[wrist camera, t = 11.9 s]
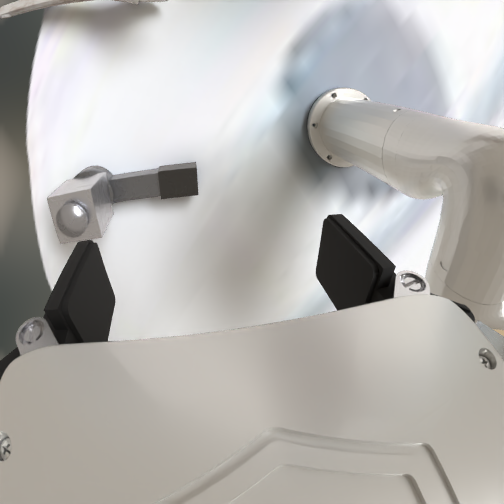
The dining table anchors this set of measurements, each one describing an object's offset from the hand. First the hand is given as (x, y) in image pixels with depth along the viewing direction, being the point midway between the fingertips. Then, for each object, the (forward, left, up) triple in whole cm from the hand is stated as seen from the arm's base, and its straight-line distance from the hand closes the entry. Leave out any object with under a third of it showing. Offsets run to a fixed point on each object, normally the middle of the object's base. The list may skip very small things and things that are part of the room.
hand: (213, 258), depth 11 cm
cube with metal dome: (+15, +5, -25) cm, 30 cm away
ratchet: (+9, +5, -28) cm, 30 cm away
